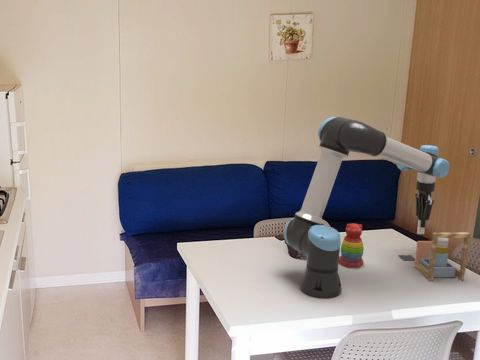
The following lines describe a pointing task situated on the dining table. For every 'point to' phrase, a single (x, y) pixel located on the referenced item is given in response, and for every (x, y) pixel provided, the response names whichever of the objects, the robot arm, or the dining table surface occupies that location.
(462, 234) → the wooden frame rack
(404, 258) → the pit pads
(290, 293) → the dining table surface
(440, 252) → the bottle
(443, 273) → the tray
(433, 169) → the robot arm
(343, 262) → the stacking bear
